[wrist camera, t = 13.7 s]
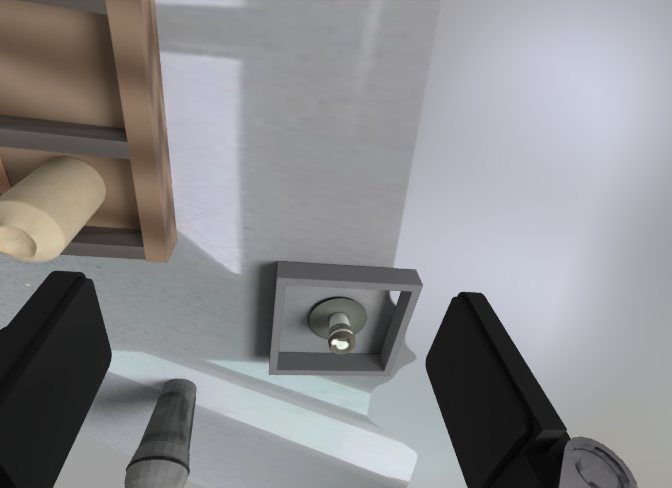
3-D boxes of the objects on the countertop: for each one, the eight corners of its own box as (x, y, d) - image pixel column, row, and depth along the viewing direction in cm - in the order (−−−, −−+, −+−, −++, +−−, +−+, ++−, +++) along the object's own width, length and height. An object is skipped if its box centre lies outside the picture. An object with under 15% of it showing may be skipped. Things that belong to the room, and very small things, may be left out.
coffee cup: (347, 357, 55) (352, 387, 51) (275, 329, 50) (274, 360, 46) (401, 305, 50) (411, 333, 46) (326, 268, 45) (330, 296, 41)
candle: (45, 203, 36) (-26, 268, 28) (37, 149, 33) (-44, 203, 25) (108, 214, 38) (58, 278, 29) (106, 163, 35) (50, 219, 27)
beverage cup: (201, 405, 59) (166, 570, 42) (150, 399, 56) (94, 570, 40) (211, 377, 55) (177, 545, 39) (157, 369, 53) (98, 543, 36)
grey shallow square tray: (277, 261, 44) (277, 277, 42) (416, 269, 47) (422, 285, 45) (269, 356, 54) (268, 374, 51) (385, 358, 56) (389, 376, 54)
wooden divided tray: (-80, -52, 26) (-133, -57, 23) (153, -12, 29) (135, -11, 25) (22, 229, 39) (-3, 252, 35) (177, 240, 41) (167, 262, 38)
